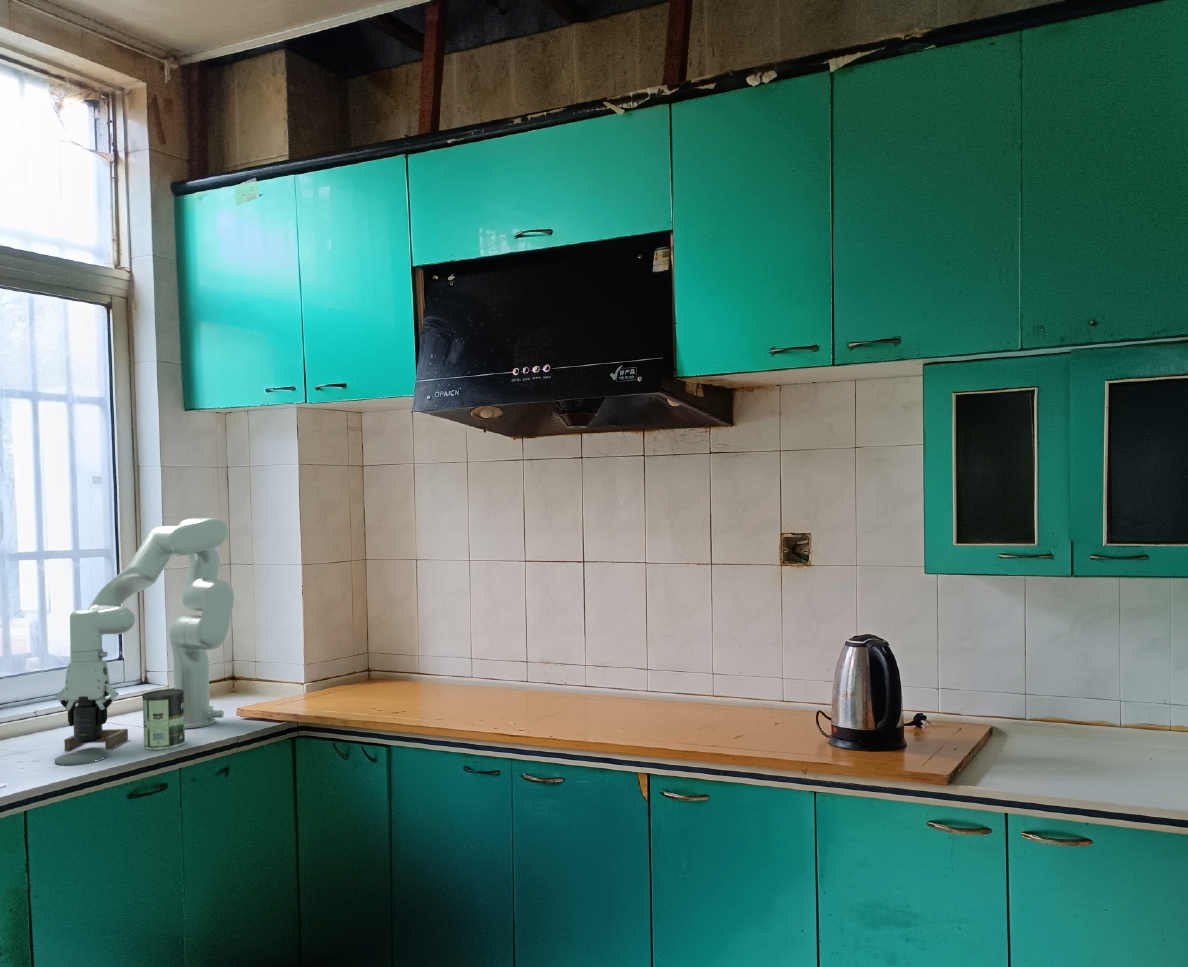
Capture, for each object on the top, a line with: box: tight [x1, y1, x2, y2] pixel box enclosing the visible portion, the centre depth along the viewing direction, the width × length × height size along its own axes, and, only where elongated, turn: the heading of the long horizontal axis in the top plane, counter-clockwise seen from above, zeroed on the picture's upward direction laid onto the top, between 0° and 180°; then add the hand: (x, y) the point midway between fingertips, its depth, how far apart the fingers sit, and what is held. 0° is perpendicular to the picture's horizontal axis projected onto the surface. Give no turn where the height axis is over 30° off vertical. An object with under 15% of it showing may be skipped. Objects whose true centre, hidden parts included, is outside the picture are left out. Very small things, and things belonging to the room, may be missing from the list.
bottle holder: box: [63, 728, 129, 752], centre depth 268 cm, size 12×11×3 cm
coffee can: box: [141, 688, 186, 751], centre depth 266 cm, size 10×10×14 cm
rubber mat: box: [54, 750, 109, 766], centre depth 253 cm, size 12×12×1 cm
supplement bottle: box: [72, 696, 104, 744], centre depth 263 cm, size 7×7×12 cm
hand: (87, 723), depth 263 cm, fingers closed on supplement bottle, 6 cm apart
